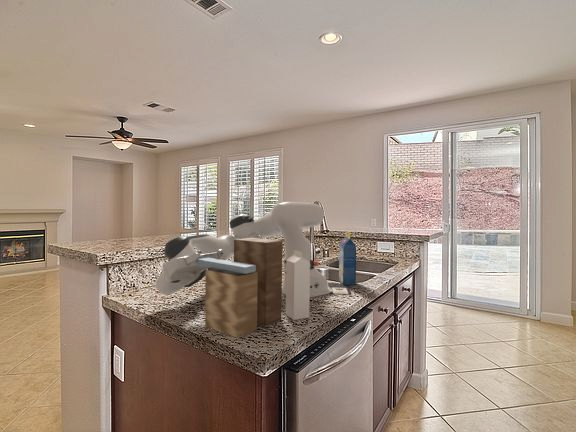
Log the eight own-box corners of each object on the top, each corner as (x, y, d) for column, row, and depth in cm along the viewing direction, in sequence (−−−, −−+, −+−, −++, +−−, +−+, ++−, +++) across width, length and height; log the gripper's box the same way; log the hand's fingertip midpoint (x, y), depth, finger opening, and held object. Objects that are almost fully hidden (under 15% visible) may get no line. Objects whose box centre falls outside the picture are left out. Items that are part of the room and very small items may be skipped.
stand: (233, 317, 104) (233, 239, 104) (249, 310, 111) (250, 237, 110) (265, 327, 96) (266, 242, 95) (281, 319, 103) (282, 240, 102)
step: (205, 326, 96) (205, 268, 95) (224, 319, 103) (224, 264, 102) (238, 338, 88) (238, 274, 87) (257, 329, 94) (257, 269, 94)
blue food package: (342, 286, 147) (343, 233, 147) (338, 280, 159) (339, 231, 159) (355, 286, 147) (357, 233, 147) (350, 280, 159) (351, 231, 159)
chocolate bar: (346, 283, 151) (351, 293, 133) (346, 285, 151) (351, 295, 133) (327, 282, 151) (330, 292, 133) (327, 284, 151) (330, 295, 133)
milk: (293, 320, 102) (294, 253, 102) (285, 314, 108) (285, 250, 107) (309, 317, 105) (310, 252, 104) (300, 311, 111) (301, 249, 110)
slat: (195, 264, 101) (195, 259, 101) (206, 262, 105) (206, 257, 105) (245, 273, 88) (245, 267, 88) (255, 271, 92) (255, 265, 92)
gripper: (213, 273, 115) (237, 257, 108) (163, 284, 98) (187, 267, 91) (207, 257, 116) (231, 241, 109) (157, 265, 100) (180, 247, 93)
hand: (210, 253), depth 100 cm, fingers open, 8 cm apart
